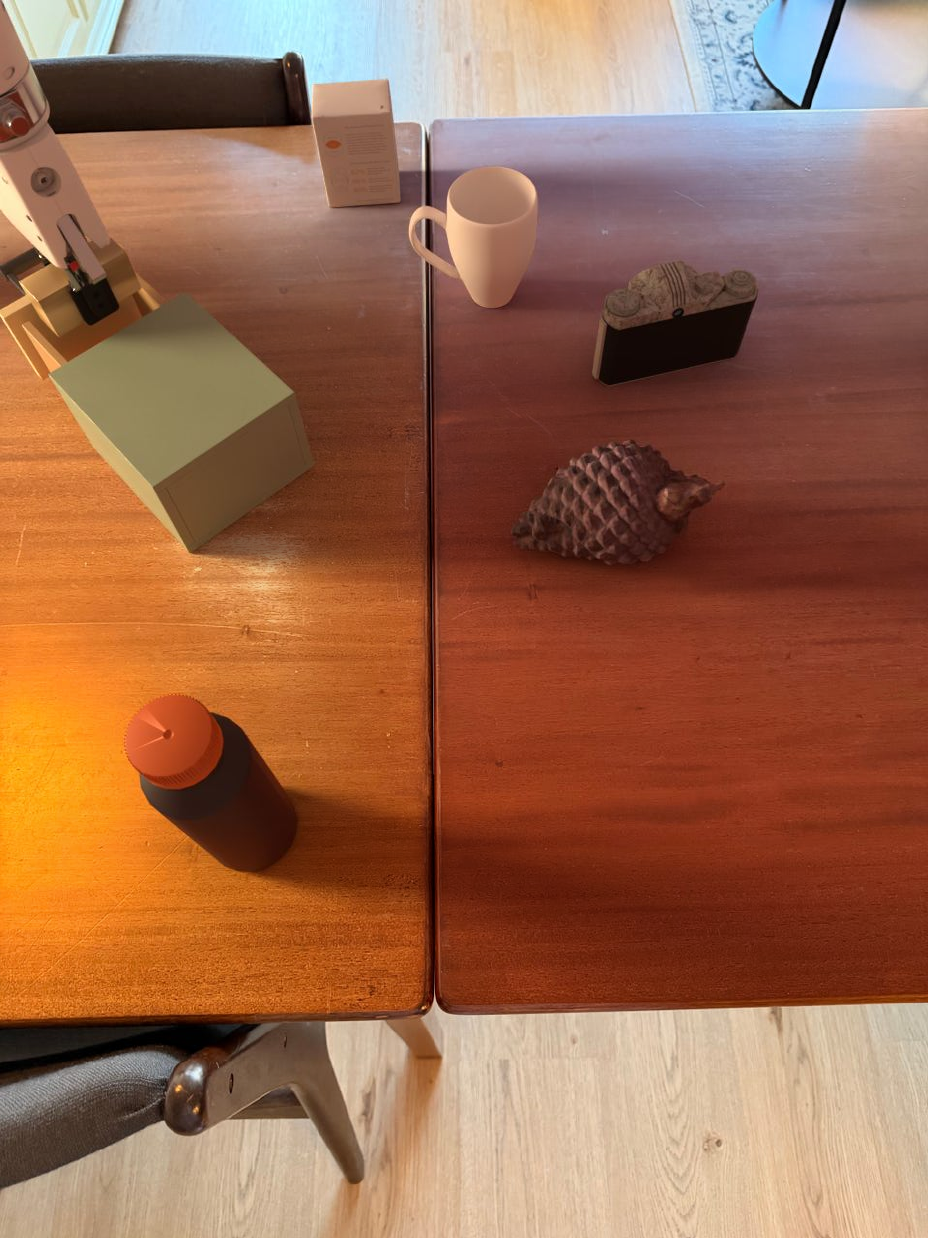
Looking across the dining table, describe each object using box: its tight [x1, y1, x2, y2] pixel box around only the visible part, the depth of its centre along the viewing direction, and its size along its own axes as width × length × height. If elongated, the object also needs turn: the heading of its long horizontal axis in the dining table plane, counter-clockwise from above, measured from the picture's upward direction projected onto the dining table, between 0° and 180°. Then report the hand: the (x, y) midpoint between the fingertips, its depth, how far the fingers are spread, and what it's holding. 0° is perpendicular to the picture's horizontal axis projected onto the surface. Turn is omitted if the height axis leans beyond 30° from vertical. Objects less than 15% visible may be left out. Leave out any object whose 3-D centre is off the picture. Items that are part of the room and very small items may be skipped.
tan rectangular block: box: [19, 236, 142, 337], centre depth 77 cm, size 3×8×4 cm, turn 132°
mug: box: [408, 165, 539, 309], centre depth 87 cm, size 12×8×11 cm
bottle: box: [123, 693, 299, 873], centre depth 58 cm, size 7×7×20 cm
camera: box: [591, 260, 759, 387], centre depth 83 cm, size 15×7×10 cm, turn 105°
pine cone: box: [510, 439, 726, 566], centre depth 74 cm, size 18×10×10 cm
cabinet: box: [48, 291, 316, 554], centre depth 79 cm, size 16×14×10 cm
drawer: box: [0, 242, 168, 381], centre depth 84 cm, size 22×13×8 cm, turn 42°
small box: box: [311, 78, 401, 208], centre depth 95 cm, size 8×6×10 cm
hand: (90, 301), depth 79 cm, fingers closed on tan rectangular block, 3 cm apart
